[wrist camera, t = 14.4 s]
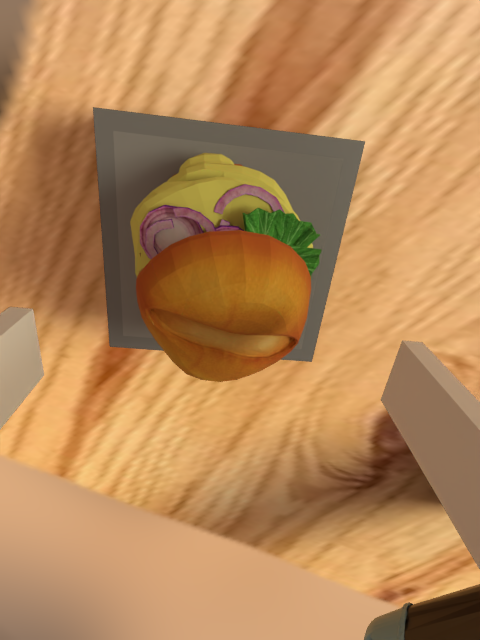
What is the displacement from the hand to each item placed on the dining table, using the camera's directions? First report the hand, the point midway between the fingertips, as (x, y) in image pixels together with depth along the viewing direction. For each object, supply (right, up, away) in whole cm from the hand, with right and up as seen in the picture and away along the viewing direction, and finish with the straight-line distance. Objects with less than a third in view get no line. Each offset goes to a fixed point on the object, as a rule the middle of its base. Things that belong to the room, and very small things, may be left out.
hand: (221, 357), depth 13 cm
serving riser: (-1, +8, +14) cm, 16 cm away
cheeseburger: (0, +6, +10) cm, 12 cm away
